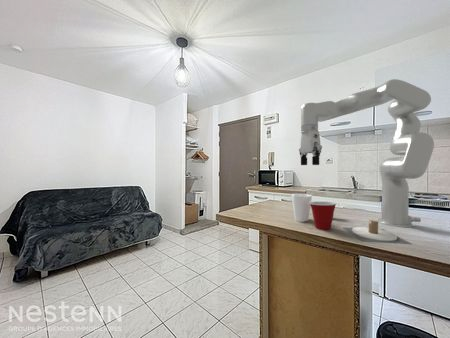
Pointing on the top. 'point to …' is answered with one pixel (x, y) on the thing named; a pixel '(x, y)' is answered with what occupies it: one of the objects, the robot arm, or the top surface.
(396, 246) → the top surface
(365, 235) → the lid
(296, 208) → the foam cup
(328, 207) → the plastic cup
